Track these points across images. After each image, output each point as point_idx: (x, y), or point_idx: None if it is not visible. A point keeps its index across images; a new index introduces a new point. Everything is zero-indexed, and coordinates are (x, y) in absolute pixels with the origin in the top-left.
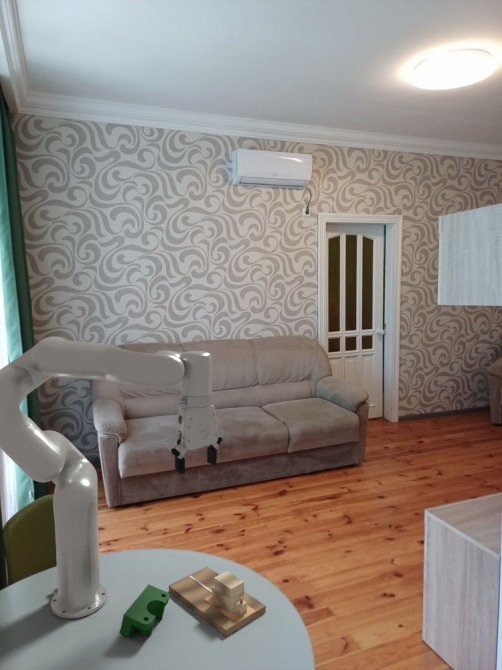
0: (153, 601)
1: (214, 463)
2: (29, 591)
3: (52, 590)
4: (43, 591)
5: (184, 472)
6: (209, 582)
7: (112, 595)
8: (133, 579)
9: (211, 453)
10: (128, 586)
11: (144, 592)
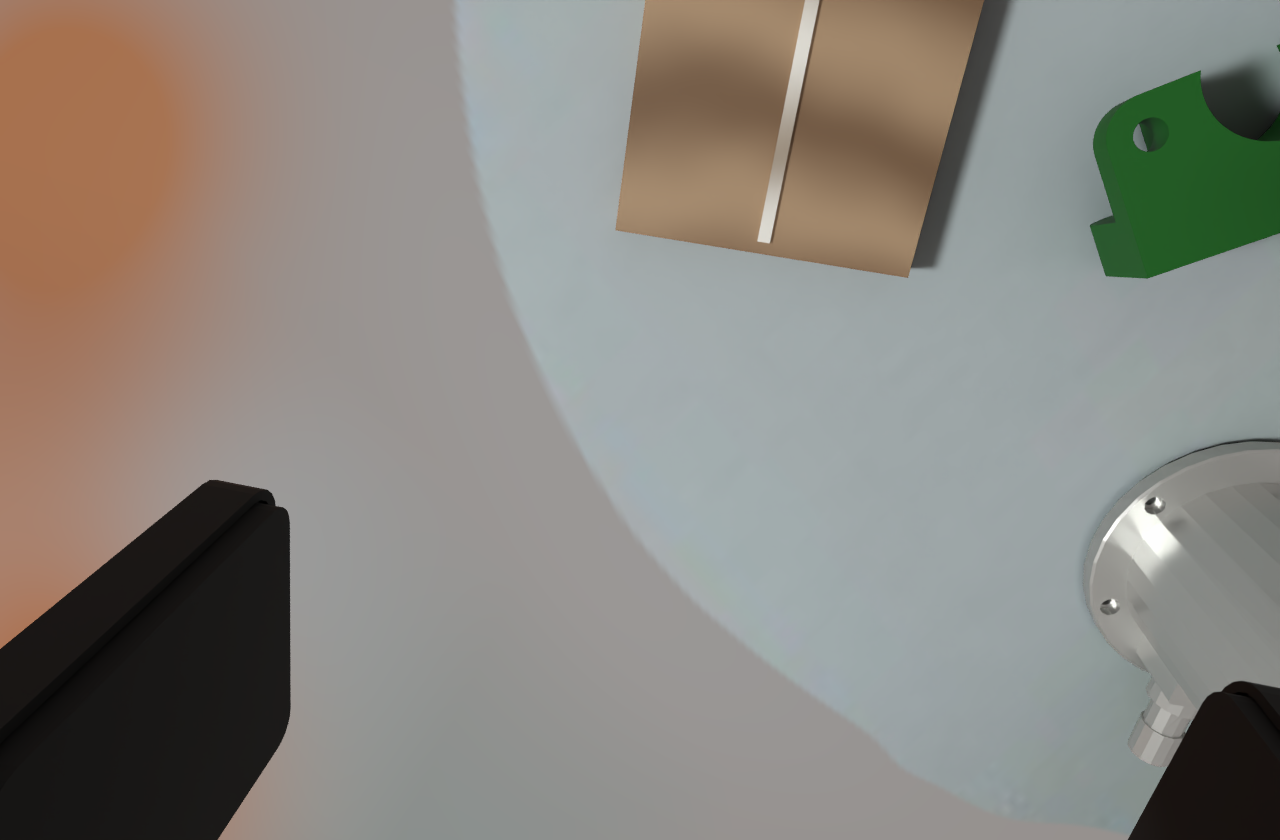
0: (1240, 137)
1: (255, 513)
2: None
3: None
4: None
5: (1273, 695)
6: (737, 90)
7: (1096, 478)
8: (926, 498)
9: (107, 809)
10: (989, 473)
11: (1234, 233)
